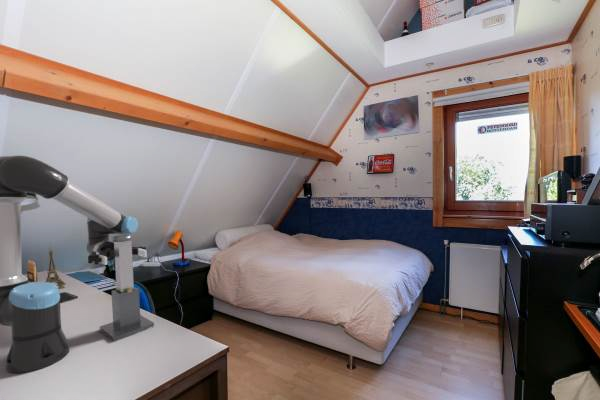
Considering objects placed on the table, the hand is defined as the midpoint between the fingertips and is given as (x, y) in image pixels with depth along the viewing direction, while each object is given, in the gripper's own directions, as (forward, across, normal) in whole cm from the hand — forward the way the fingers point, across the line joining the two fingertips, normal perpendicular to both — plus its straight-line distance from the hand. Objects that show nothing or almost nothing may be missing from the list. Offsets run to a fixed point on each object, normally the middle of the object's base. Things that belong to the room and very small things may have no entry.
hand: (126, 257), depth 111 cm
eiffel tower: (-91, +6, -28) cm, 95 cm away
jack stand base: (-3, 0, -28) cm, 28 cm away
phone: (-66, +7, -29) cm, 72 cm away
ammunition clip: (-120, +11, -28) cm, 124 cm away
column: (-3, 0, -20) cm, 20 cm away
